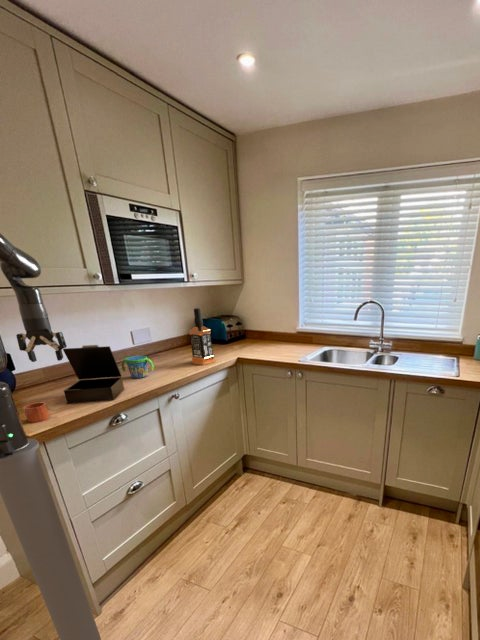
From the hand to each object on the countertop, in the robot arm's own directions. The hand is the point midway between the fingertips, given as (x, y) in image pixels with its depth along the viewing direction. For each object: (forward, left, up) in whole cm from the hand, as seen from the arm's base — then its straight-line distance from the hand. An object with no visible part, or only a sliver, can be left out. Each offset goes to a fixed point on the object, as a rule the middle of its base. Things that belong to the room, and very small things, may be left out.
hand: (47, 360), depth 124 cm
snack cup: (+42, -19, -20) cm, 51 cm away
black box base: (+14, -8, -20) cm, 26 cm away
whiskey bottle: (+65, -50, -20) cm, 85 cm away
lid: (+19, -8, -6) cm, 21 cm away
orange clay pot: (-9, +4, -20) cm, 22 cm away
